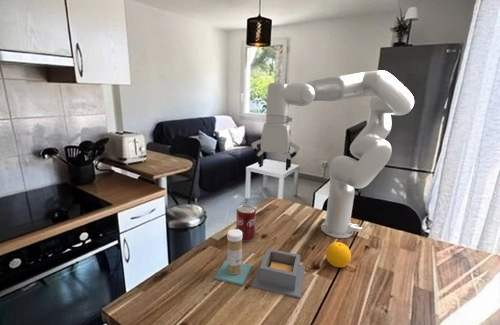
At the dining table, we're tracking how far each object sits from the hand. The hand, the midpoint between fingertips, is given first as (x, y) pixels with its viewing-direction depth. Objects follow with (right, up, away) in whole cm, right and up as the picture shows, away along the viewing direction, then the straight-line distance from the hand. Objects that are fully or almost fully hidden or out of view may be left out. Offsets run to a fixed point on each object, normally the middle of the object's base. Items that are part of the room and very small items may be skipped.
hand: (274, 167), depth 96 cm
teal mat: (-14, -32, -13) cm, 38 cm away
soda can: (-10, -27, +7) cm, 30 cm away
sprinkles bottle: (-14, -32, -13) cm, 37 cm away
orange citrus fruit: (+21, -32, -7) cm, 39 cm away
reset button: (+1, -33, -14) cm, 36 cm away
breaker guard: (+1, -33, -14) cm, 36 cm away
